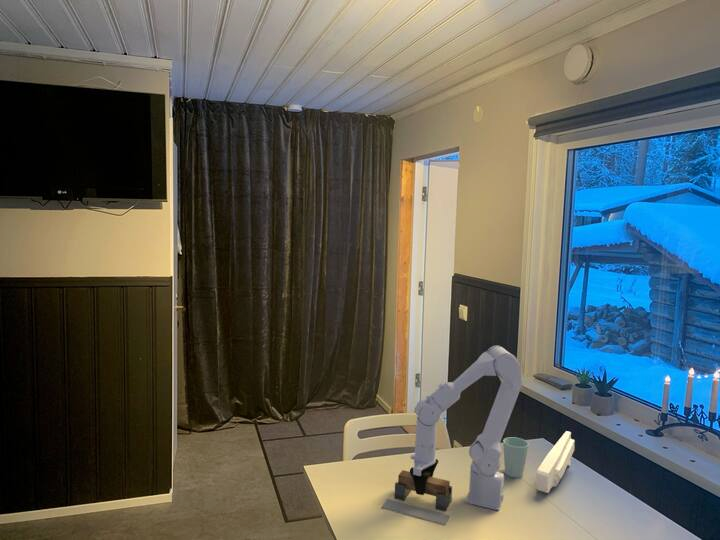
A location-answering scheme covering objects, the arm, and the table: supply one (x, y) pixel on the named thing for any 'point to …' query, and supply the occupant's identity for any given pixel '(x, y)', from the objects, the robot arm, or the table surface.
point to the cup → (515, 456)
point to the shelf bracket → (555, 463)
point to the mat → (416, 511)
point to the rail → (431, 486)
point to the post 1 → (401, 491)
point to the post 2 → (443, 500)
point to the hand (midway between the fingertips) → (423, 489)
